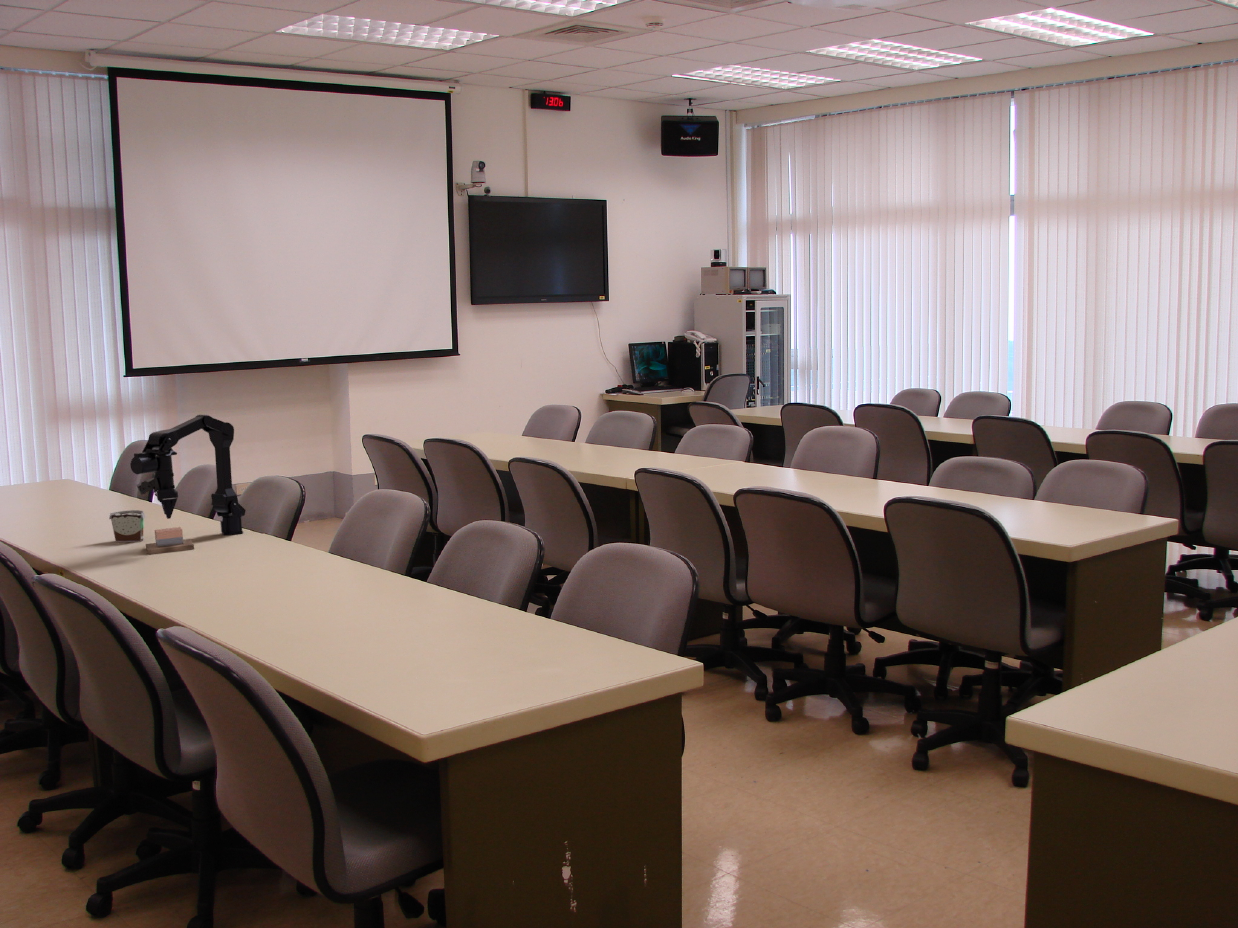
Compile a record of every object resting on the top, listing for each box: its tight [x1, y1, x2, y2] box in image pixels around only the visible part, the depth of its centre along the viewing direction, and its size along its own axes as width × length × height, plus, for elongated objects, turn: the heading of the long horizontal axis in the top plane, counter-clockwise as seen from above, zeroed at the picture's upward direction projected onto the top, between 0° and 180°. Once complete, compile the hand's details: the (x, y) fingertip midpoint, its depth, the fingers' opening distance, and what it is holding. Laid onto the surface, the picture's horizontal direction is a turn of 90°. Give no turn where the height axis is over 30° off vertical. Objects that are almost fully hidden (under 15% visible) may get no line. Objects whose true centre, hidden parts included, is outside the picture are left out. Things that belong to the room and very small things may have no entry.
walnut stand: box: [145, 538, 195, 555], centre depth 364 cm, size 14×11×2 cm
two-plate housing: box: [154, 526, 184, 547], centre depth 363 cm, size 5×8×5 cm, turn 119°
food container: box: [109, 509, 146, 543], centre depth 380 cm, size 12×6×10 cm, turn 84°
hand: (167, 516), depth 363 cm, fingers open, 9 cm apart
